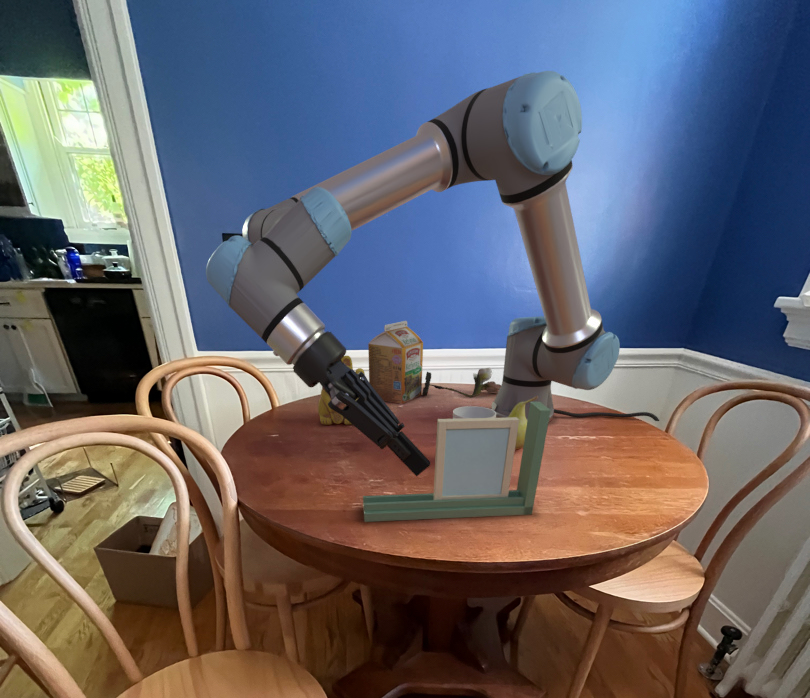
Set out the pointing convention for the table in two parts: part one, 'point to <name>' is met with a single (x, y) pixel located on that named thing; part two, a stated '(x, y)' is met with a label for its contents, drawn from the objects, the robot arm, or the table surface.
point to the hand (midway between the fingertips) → (423, 469)
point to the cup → (473, 412)
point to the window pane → (474, 457)
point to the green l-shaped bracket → (478, 507)
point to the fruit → (521, 422)
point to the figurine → (324, 410)
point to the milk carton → (396, 363)
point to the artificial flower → (479, 379)
